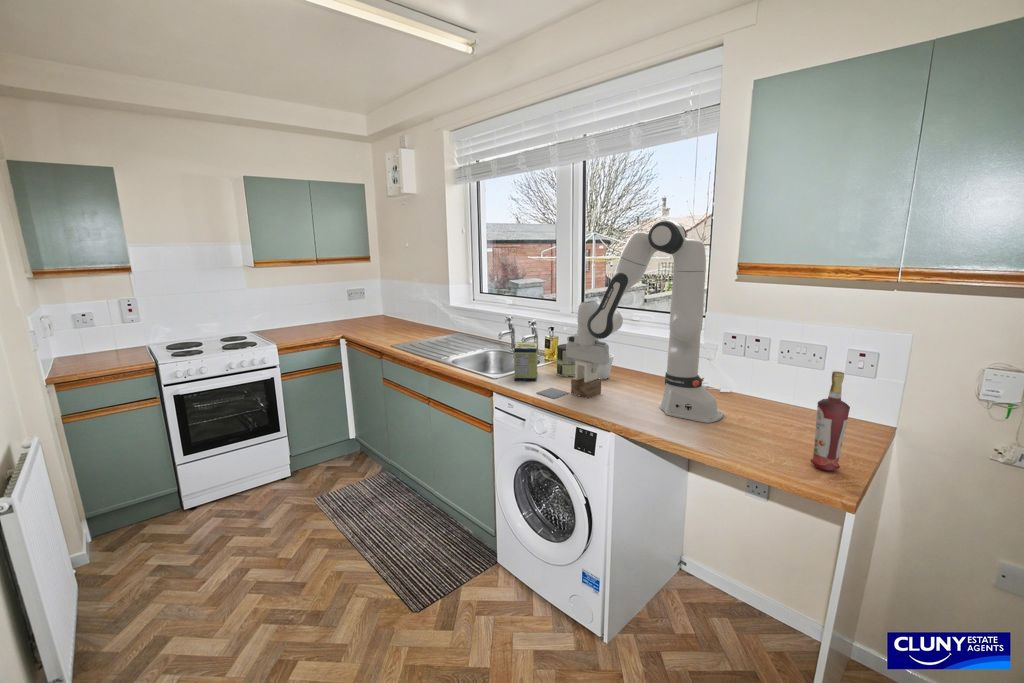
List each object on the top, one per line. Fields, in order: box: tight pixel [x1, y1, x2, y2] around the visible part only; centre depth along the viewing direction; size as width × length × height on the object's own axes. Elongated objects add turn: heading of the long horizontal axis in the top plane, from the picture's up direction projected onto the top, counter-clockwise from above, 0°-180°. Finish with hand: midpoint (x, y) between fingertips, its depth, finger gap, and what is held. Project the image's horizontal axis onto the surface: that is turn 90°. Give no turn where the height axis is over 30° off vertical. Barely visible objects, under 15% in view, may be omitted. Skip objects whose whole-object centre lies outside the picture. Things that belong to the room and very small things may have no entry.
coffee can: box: [556, 343, 575, 378], centre depth 224 cm, size 10×10×14 cm
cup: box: [598, 353, 615, 380], centre depth 218 cm, size 10×10×11 cm
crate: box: [570, 378, 603, 399], centre depth 195 cm, size 9×9×6 cm
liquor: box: [810, 370, 851, 473], centre depth 127 cm, size 7×7×28 cm
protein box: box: [513, 341, 539, 382], centre depth 220 cm, size 10×16×16 cm
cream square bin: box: [574, 360, 598, 383], centre depth 194 cm, size 6×8×8 cm
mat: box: [536, 387, 570, 399], centre depth 196 cm, size 10×10×1 cm
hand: (586, 371), depth 194 cm, fingers closed on cream square bin, 6 cm apart
